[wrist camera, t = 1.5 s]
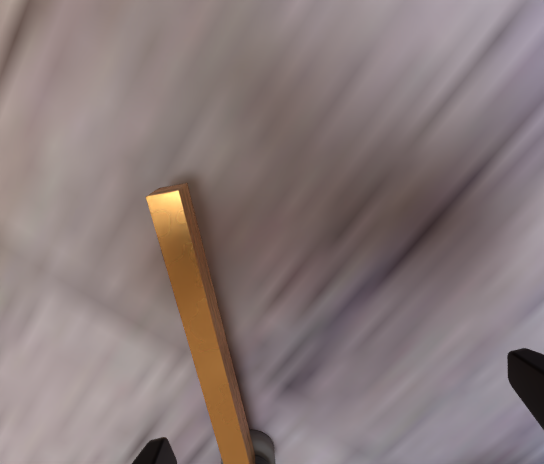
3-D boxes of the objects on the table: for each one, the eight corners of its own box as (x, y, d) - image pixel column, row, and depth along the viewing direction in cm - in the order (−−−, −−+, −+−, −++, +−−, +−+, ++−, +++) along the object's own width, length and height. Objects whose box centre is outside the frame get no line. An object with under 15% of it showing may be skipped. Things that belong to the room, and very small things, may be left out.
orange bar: (274, 483, 23) (277, 519, 20) (230, 492, 23) (228, 529, 20) (203, 180, 17) (197, 187, 14) (142, 191, 16) (127, 200, 14)
